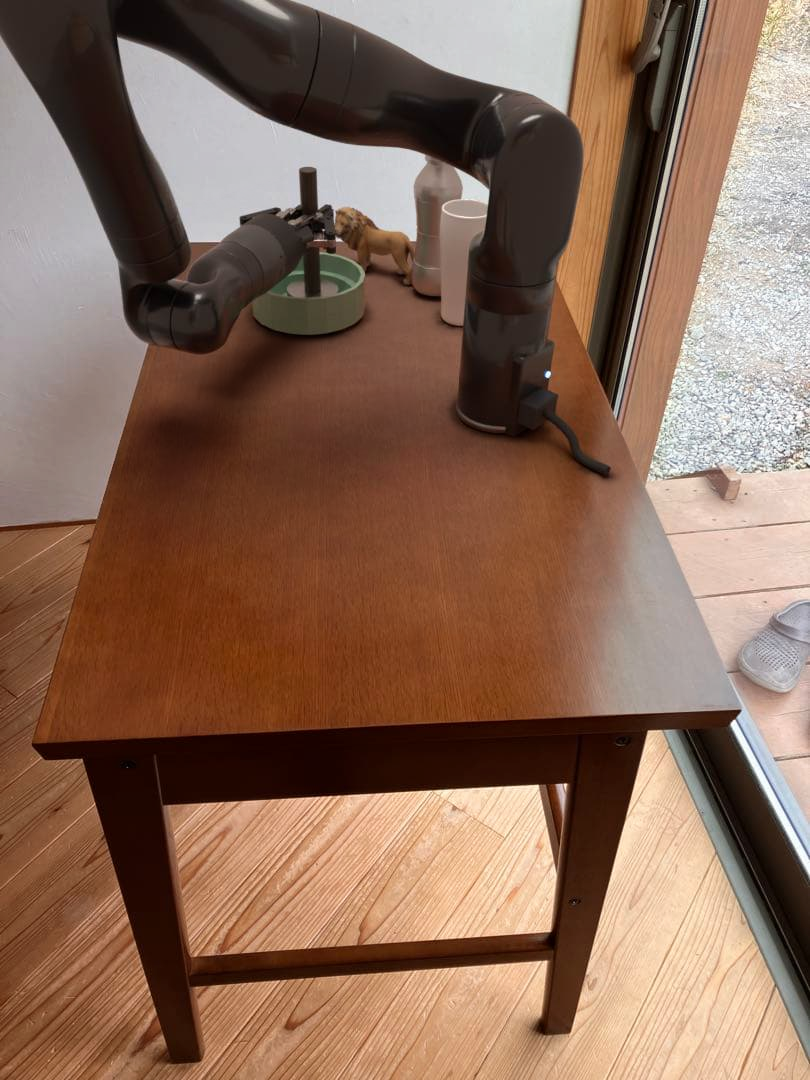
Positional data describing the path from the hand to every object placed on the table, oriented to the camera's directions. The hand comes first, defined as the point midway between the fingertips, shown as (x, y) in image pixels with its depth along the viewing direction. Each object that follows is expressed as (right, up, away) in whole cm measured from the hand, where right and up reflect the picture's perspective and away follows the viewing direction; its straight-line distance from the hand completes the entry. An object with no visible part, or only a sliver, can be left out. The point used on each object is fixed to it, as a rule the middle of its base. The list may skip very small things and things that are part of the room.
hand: (319, 210), depth 115 cm
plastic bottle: (+15, -8, +12) cm, 21 cm away
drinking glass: (+19, -13, +5) cm, 23 cm away
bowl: (-2, -12, +6) cm, 13 cm away
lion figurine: (+7, -4, +16) cm, 18 cm away
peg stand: (-1, -11, +6) cm, 12 cm away
